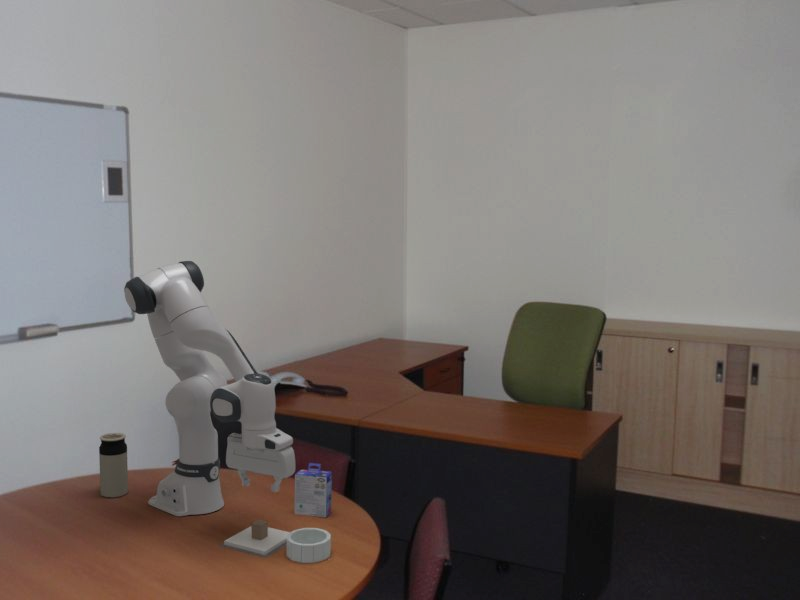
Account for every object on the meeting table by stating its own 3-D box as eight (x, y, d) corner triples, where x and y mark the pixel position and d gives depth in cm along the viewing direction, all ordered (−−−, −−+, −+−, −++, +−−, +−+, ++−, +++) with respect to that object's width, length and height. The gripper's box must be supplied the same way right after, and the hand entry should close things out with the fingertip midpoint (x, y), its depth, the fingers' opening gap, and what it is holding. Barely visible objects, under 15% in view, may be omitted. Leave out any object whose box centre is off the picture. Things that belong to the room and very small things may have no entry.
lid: (224, 544, 216) (224, 526, 215) (255, 527, 227) (254, 509, 227) (264, 555, 210) (264, 536, 209) (294, 537, 221) (294, 519, 221)
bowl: (278, 558, 209) (278, 539, 209) (303, 542, 219) (303, 524, 218) (314, 568, 204) (315, 548, 204) (338, 551, 214) (338, 533, 213)
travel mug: (122, 498, 248) (121, 440, 246) (96, 498, 248) (94, 439, 246) (131, 489, 256) (130, 432, 254) (106, 488, 256) (104, 432, 254)
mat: (218, 546, 216) (218, 545, 216) (254, 527, 229) (254, 525, 229) (265, 559, 209) (265, 557, 209) (299, 538, 222) (299, 536, 222)
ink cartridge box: (332, 511, 241) (332, 463, 239) (327, 518, 236) (327, 469, 234) (300, 508, 243) (300, 460, 241) (293, 515, 238) (294, 466, 236)
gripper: (219, 434, 217) (221, 485, 219) (283, 445, 208) (285, 498, 209) (235, 429, 223) (236, 478, 224) (298, 438, 213) (299, 490, 215)
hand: (260, 488), depth 217 cm, fingers open, 8 cm apart
